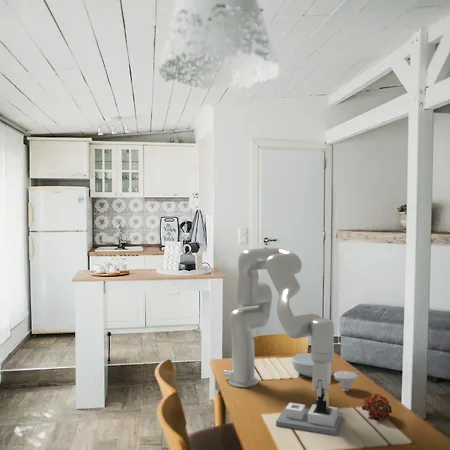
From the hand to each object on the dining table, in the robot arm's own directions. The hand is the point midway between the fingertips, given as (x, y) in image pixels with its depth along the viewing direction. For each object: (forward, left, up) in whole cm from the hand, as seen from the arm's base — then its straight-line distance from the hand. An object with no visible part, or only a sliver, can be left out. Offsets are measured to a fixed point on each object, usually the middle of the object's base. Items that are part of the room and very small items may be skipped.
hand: (322, 408), depth 162 cm
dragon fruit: (+17, +12, -5) cm, 21 cm away
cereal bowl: (-13, +48, -5) cm, 50 cm away
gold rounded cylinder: (0, 0, -2) cm, 2 cm away
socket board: (-4, 0, -5) cm, 7 cm away
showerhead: (+4, +34, -5) cm, 35 cm away
